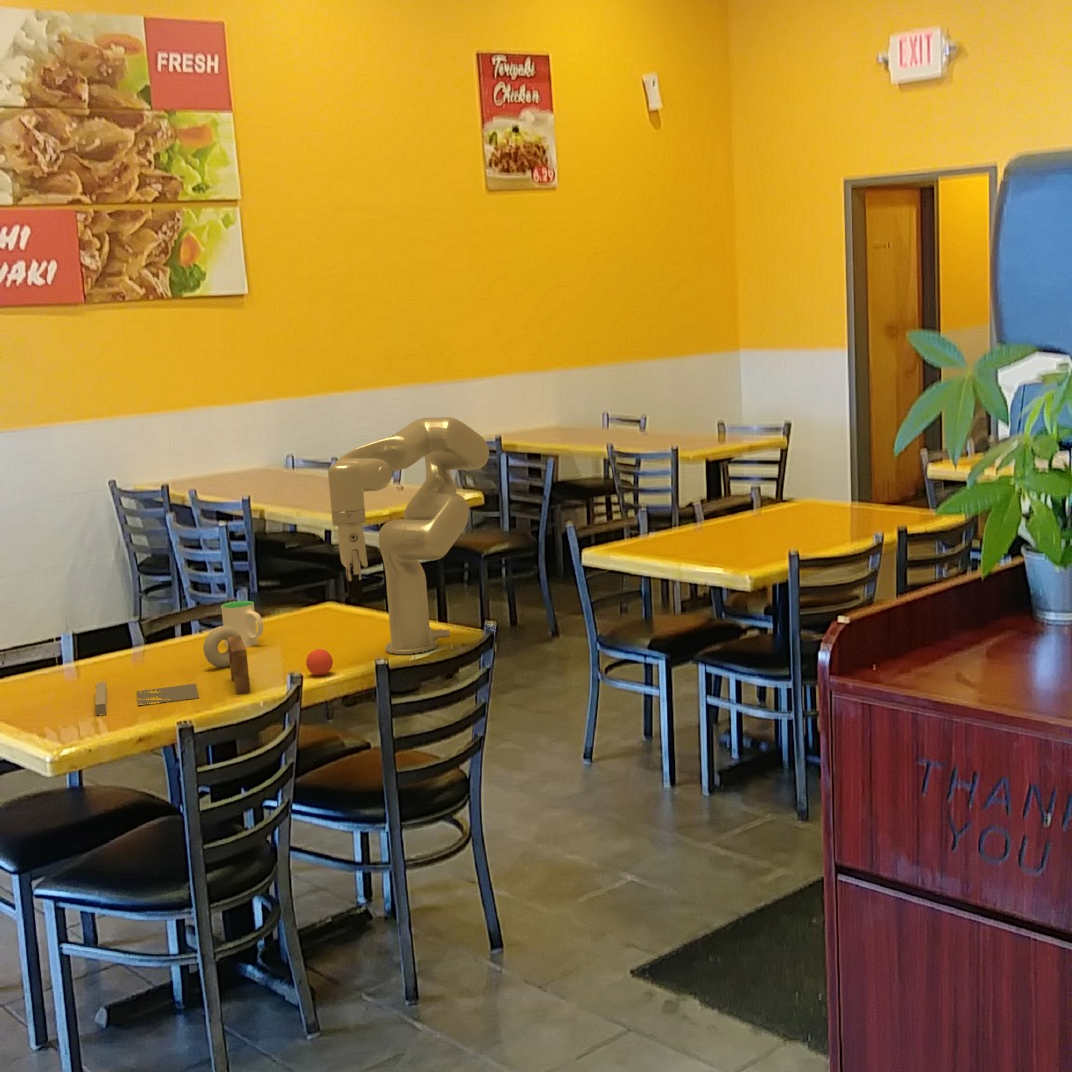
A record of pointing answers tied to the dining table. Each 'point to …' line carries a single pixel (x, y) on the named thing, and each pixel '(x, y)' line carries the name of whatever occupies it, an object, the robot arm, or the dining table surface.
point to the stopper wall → (101, 698)
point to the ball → (319, 662)
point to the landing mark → (169, 694)
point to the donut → (213, 642)
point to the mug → (243, 621)
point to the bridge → (238, 664)
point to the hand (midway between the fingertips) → (355, 596)
